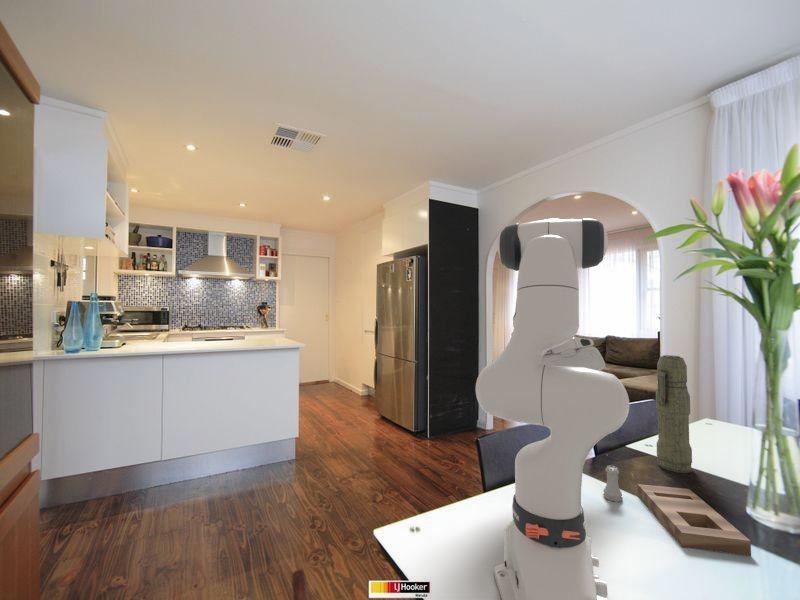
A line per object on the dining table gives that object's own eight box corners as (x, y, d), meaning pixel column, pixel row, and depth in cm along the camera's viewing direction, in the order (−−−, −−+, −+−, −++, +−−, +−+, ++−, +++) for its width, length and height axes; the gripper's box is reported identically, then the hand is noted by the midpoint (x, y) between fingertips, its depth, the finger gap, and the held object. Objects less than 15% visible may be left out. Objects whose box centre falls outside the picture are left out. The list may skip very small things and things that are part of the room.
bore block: (751, 556, 72) (750, 540, 72) (682, 547, 75) (681, 532, 75) (689, 500, 94) (689, 489, 94) (637, 495, 96) (637, 484, 97)
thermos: (699, 468, 114) (696, 356, 115) (682, 476, 108) (679, 358, 109) (667, 458, 121) (664, 353, 123) (649, 465, 115) (647, 355, 117)
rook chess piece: (625, 503, 92) (625, 471, 93) (606, 501, 93) (606, 470, 94) (618, 494, 97) (618, 464, 97) (600, 493, 98) (600, 463, 98)
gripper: (536, 351, 112) (553, 396, 106) (596, 338, 114) (617, 381, 108) (529, 357, 117) (545, 399, 112) (587, 344, 120) (605, 385, 114)
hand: (581, 390), depth 110 cm, fingers open, 8 cm apart
